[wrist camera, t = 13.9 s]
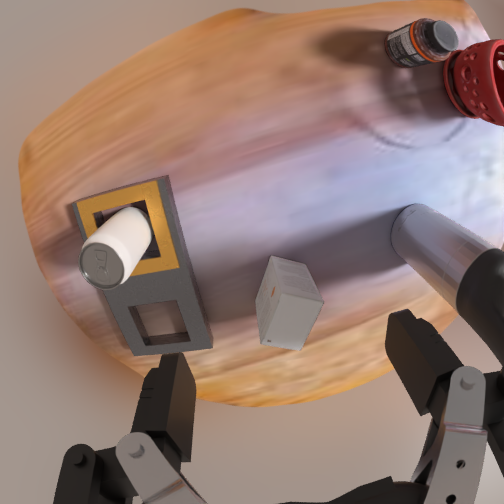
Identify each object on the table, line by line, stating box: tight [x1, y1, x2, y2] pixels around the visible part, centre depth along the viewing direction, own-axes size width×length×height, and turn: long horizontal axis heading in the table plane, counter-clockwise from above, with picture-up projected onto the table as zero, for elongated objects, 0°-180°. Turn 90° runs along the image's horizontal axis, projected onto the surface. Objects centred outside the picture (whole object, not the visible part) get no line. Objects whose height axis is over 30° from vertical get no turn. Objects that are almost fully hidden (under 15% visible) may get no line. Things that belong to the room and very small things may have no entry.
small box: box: [255, 256, 324, 350], centre depth 39 cm, size 8×6×10 cm
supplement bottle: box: [385, 18, 458, 68], centre depth 25 cm, size 6×6×11 cm
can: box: [78, 207, 154, 290], centre depth 34 cm, size 6×6×12 cm
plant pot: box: [443, 39, 504, 126], centre depth 27 cm, size 13×13×12 cm
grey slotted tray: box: [72, 175, 213, 356], centre depth 41 cm, size 27×14×3 cm, turn 9°
